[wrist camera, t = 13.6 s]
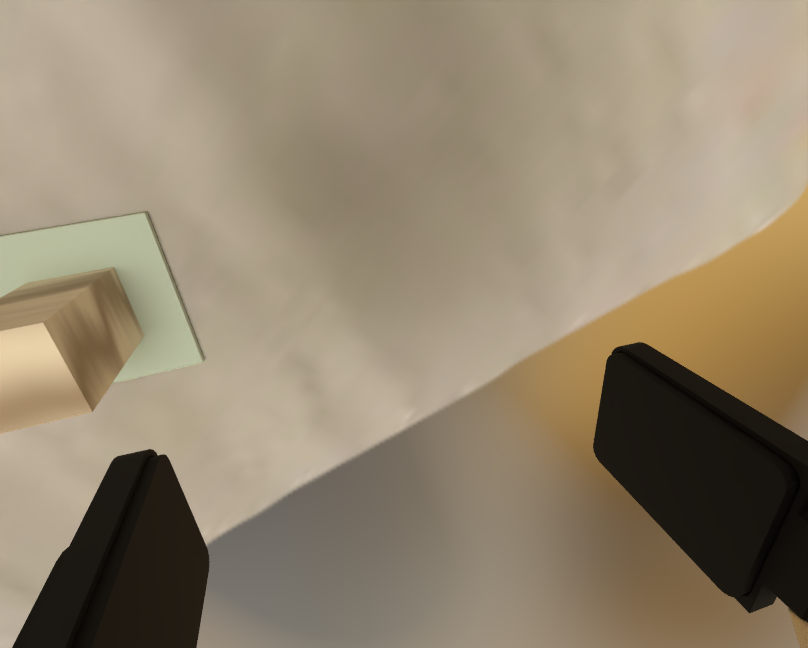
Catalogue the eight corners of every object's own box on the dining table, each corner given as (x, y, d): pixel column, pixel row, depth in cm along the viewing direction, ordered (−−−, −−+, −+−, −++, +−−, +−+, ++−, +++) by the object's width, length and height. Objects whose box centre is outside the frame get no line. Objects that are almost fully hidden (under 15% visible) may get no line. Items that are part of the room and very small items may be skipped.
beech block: (26, 282, 29) (-87, 348, 20) (113, 266, 30) (42, 322, 21) (64, 352, 31) (-22, 438, 22) (144, 335, 32) (92, 411, 23)
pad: (-52, 244, 27) (-58, 246, 27) (146, 211, 29) (144, 213, 29) (41, 396, 33) (37, 400, 32) (204, 359, 35) (203, 362, 34)
